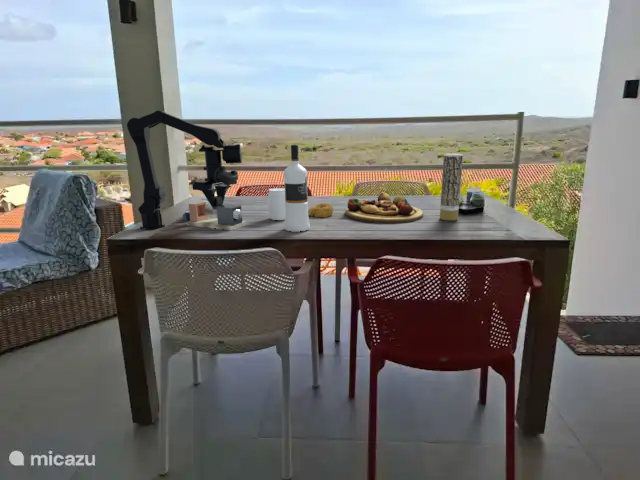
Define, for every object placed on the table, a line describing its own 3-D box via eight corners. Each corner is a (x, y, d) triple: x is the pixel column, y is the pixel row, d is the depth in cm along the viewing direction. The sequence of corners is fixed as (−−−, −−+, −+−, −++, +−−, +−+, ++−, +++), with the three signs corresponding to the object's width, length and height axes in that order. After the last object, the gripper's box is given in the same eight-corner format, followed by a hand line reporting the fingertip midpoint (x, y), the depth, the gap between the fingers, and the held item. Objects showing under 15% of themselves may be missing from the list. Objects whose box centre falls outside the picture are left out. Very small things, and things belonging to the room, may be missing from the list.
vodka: (289, 225, 154) (286, 144, 145) (313, 227, 151) (311, 143, 143) (280, 232, 145) (277, 145, 137) (305, 233, 143) (303, 145, 134)
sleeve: (242, 222, 155) (241, 205, 153) (233, 225, 150) (231, 208, 148) (227, 220, 158) (226, 204, 156) (218, 224, 153) (216, 206, 151)
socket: (207, 218, 162) (206, 201, 160) (197, 221, 157) (195, 204, 155) (201, 217, 164) (199, 201, 162) (190, 221, 158) (188, 203, 157)
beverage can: (265, 220, 163) (263, 190, 160) (276, 216, 170) (275, 187, 167) (282, 222, 160) (281, 191, 156) (293, 217, 167) (292, 188, 163)
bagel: (306, 213, 175) (306, 202, 174) (332, 212, 176) (332, 201, 174) (308, 218, 165) (307, 207, 164) (335, 218, 166) (335, 206, 165)
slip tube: (242, 218, 153) (241, 197, 151) (236, 220, 150) (235, 199, 147) (210, 214, 159) (208, 195, 157) (204, 216, 156) (202, 196, 154)
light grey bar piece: (180, 212, 163) (202, 193, 186) (182, 227, 166) (204, 207, 188) (192, 212, 162) (213, 193, 185) (195, 227, 165) (215, 207, 188)
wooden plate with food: (338, 222, 159) (338, 201, 156) (351, 205, 188) (352, 188, 186) (422, 227, 152) (424, 206, 149) (423, 209, 181) (424, 191, 179)
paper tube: (458, 221, 156) (464, 154, 149) (440, 221, 157) (444, 154, 150) (456, 217, 162) (461, 153, 155) (438, 217, 163) (443, 153, 157)
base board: (247, 224, 157) (246, 221, 156) (230, 230, 148) (230, 227, 148) (204, 219, 166) (204, 216, 165) (186, 225, 157) (186, 222, 157)
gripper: (214, 167, 138) (217, 212, 143) (246, 162, 155) (249, 202, 159) (189, 166, 143) (193, 209, 148) (223, 161, 159) (226, 201, 164)
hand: (217, 205), depth 154 cm, fingers open, 4 cm apart
